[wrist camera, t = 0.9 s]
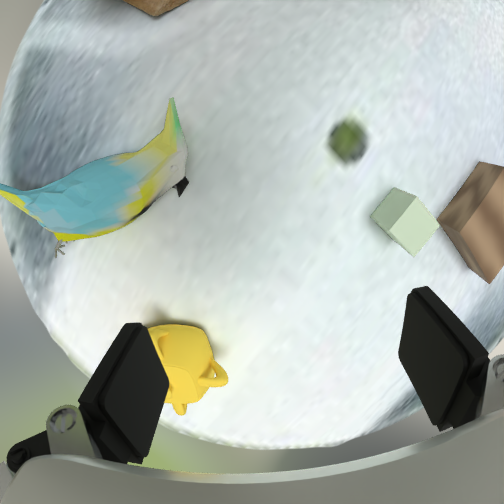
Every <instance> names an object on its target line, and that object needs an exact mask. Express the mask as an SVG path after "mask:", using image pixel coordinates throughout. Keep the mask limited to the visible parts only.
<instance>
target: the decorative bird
mask: <svg viewBox="0 0 504 504" xmlns="http://www.w3.org/2000/svg"><path fill="white" fill-rule="evenodd" d="M187 157H188V150H187V145H186V142H185V139H184V135H183V132H182V129H181V126H180V123H179V119H178V115H177V110H176V106H175V102H174V98H170V100H169V105H168V110H167V115H166V121H165V126H164V129H163V131H162V132H161V133H160V134H159V135H157V136H156V137H155V138H154V139H153V140H152V141H150V142H149V143H148V144H147V145H146V146H145V147H144V148H142V149H141V150H139V151H137V152H135V153H123V154H117V155H112V156H108V157H105V158H102V159H98V160H95V161H93V162H90V163H88V164H86V165H84V166H82V167H80V168H78V169H76V170H75V171H73V172H72V173H70V174H69V175H68V176H66V177H64V178H62V179H60V180H57V181H55V182H53V183H51V184H48V185H46V186H44V187H42V188H38V189H34V190H30V191H22V190H19V189H16V188H13V187H10V186H7V185H4V184H1V183H0V195H2V196H3V197H4V198H6V199H7V200H8V201H10V202H11V203H13V204H14V205H15V206H17V207H18V208H20V209H21V210H23V211H24V212H25V213H27V214H28V215H30V216H32V217H33V218H35V219H36V220H37V222H38V223H39V224H40V225H41V226H42V227H44V228H45V229H47V230H48V231H50V232H53V233H54V234H55V236H56V238H57V239H58V243H57V245H56V247H55V258H57V250H58V251H59V252H60V253H62V254H63V255H65V253H63V252H62V251H61V250H60V249H59V248H61V247H65V245H61V243H62V241H66V243H67V241H72V240H73V241H75V240H78V239H84V238H92V237H97V236H101V235H104V234H108V233H110V232H113V231H115V230H118V229H120V228H122V227H124V226H126V225H128V224H130V223H131V222H133V221H134V220H135V219H136V218H138V217H139V216H140V215H142V214H143V213H144V212H145V211H146V210H147V209H148V208H149V207H150V206H151V205H152V204H153V202H155V201H156V200H157V199H158V198H159V197H161V196H162V195H163V194H164V193H165V192H167V191H168V190H169V189H170V188H171V187H172V188H177V191H178V195H179V197H180V195H181V194H182V192H183V191H184V189H185V188H186V186H187V185H188V183H189V181H188V180H187V178H186V176H185V167H186V160H187ZM60 245H61V246H60Z"/></svg>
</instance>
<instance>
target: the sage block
mask: <svg viewBox="0 0 504 504" xmlns="http://www.w3.org/2000/svg"><path fill="white" fill-rule="evenodd" d="M370 217H371V218H372V219H373V220H374V221H375V222H376V223H377V224H378V225H379V226H380V227H381V228H382V229H383V230H384V231H385V232H386V233H387V234H388V235H389V236H390V237H391V238H392V239H393V240H394V241H395V242H396V243H398V244H399V245H400V246H401V247H402V248H404V249H405V250H406V251H407V252H408V253H410V254H411V255H412V256H413V257H415V256H416V254H417V253H418V252H419V251H420V250H421V248H422V247H423V246H424V245H425V244H426V242H427V241H428V240H429V239H430V237H431V236H432V235H433V234H434V232H435V231H436V230H437V229H438V227H439V226H440V225H439V223H438V222H437V221H436V219H435V218H434V217H433V216H432V214H431V213H430V212H429V211H428V209H427V208H426V207H425V206H424V204H423V203H422V202H421V201H420V200H419V198H418V197H417V196H415V195H412V194H410V193H407V192H405V191H402V190H400V189H397V188H395V187H394V188H393V189H392V191H391V192H390V193H389V194H388V195H387V197H386V198H385V199H384V200H383V202H382V203H381V204H380V205H379V206H378V208H377V209H376V210H375V211H374V212H373V214H372V215H371V216H370Z"/></svg>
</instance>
